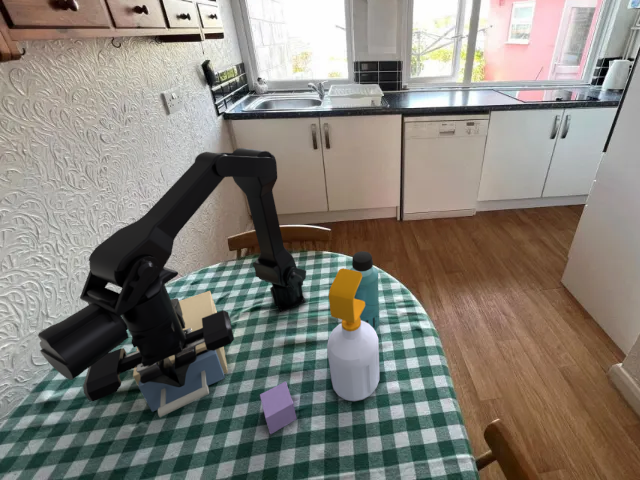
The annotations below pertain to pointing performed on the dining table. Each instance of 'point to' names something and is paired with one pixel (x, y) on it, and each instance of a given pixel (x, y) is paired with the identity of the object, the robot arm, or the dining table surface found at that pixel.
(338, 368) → the spray bottle
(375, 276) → the beverage bottle
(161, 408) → the blue drawer
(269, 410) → the purple cube
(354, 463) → the dining table surface
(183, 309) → the drawer cabinet
